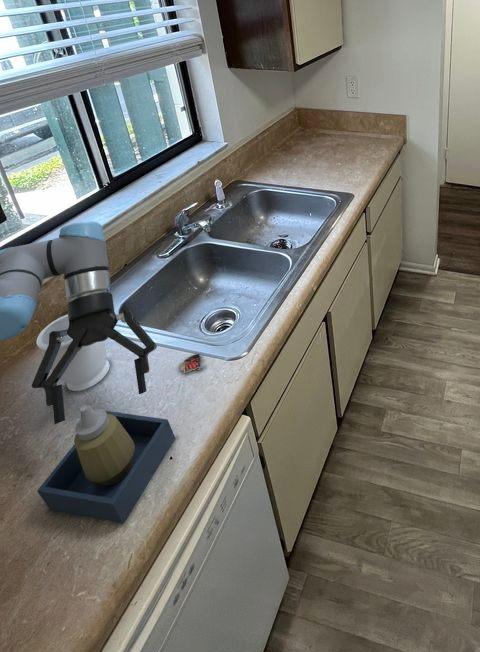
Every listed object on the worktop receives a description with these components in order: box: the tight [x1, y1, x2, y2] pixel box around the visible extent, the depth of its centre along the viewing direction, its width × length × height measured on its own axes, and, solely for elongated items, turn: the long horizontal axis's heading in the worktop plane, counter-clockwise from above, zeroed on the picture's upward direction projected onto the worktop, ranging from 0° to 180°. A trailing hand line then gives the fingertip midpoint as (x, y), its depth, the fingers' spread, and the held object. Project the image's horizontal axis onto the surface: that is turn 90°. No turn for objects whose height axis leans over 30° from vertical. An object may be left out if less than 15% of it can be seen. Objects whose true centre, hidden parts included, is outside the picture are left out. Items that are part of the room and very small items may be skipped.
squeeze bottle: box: [73, 404, 135, 486], centre depth 79 cm, size 8×8×18 cm
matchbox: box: [179, 353, 202, 374], centre depth 103 cm, size 5×5×1 cm
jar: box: [36, 313, 111, 392], centre depth 98 cm, size 11×10×15 cm
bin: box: [36, 410, 176, 525], centre depth 81 cm, size 15×15×6 cm
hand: (102, 407), depth 83 cm, fingers open, 13 cm apart
